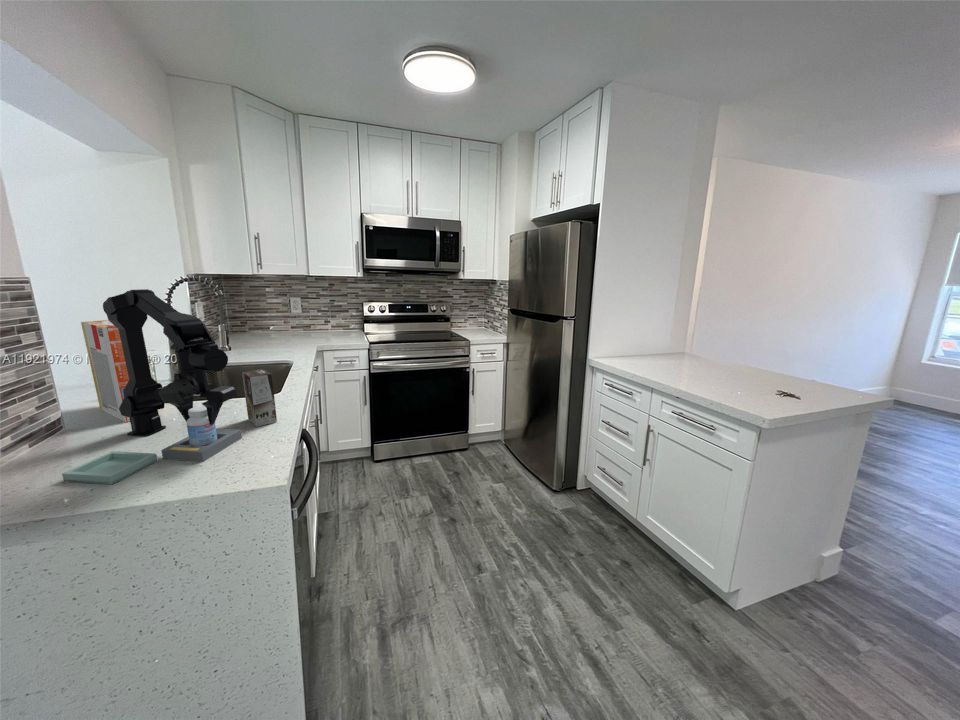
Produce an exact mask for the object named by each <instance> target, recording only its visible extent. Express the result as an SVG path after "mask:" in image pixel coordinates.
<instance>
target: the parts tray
mask: <svg viewBox="0 0 960 720" xmlns="http://www.w3.org/2000/svg"><path fill="white" fill-rule="evenodd" d="M156 462H158V456H157V453H151V452H149V453H148V452H133V451H114V450H112V451H109V452H106V453H105V454H103V455H100V456H98V457H96V458H94V459H92V460H89V461H86V462H84V463H83V464H81V465H80V464H79V465H77V466H75V467H74V468H71V469H69V470H67V471H65V472H62V473H61V475H62V478H63V482H65V481H68V483H81V484H98V485H99V484H100V485H115V484H116V483H117V484H118V482H121V481H122V480H124V479H126V478H128V477H130V476H132V475H134V474H135V473H138V472H139V471H142V470H143V469H145V468H148V466H151V465H152V464H155V463H156Z"/></svg>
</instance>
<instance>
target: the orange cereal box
mask: <svg viewBox="0 0 960 720" xmlns="http://www.w3.org/2000/svg"><path fill="white" fill-rule="evenodd" d="M80 325H81V330H82V333H83V338H84V343H85V347H86V350H87V356H88V360H89V364H90V369H91V370H90V371H91V374H92V378H93V382H94V383H93V384H94V388H95V392H96V396H97V401H98V404H99V405H98V406H99V409H100V410H101V411H103V412H105V413H108V414H109V415H111V416H113V417H115V418H116V419H118V420H121V421H122V422H125V423H126V424H128V423H130V418H129V417H126V416H122V415H121V413H120V410H119V407H120V405H121V403H122V401H123V399H124V389H125V387H126V385H127V383H128V381H129V376H128V371H127V367H126V362H125V357H124V353H123V348H122V343H121V338H120V334H119V330H118V328H117V327H115V326H114V325H113V324H112V323H111V322H110V321H109V320H108V319H104V320H93V321H92V320H90V321H80Z"/></svg>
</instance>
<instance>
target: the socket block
mask: <svg viewBox="0 0 960 720" xmlns="http://www.w3.org/2000/svg"><path fill="white" fill-rule="evenodd" d="M216 433H217V439H218V440H216V441H214V442H212V443H211V444H209V445H207V446H192V445H190V442H189V436H187V437H185V438H182V439H181V440H179V441H177V442H175V443H173V444H171V445H168V446H167V447H165V448H163V449H161V456H162V460H172V461H189V462H190V461H193V462H205V461H207V460H208V459H210V458H212V457H213V456H215V455H217V454H218V453H220V452H221V451H223V450H225V449H227V448H228V447H229V446H231V445H233V444H234V443H236V442H238V441H240V440H241V439H242V438H243V434H242V429H231V428H230V429H226V428H216Z"/></svg>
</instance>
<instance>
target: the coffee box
mask: <svg viewBox="0 0 960 720" xmlns="http://www.w3.org/2000/svg"><path fill="white" fill-rule="evenodd" d="M241 376H242V382H243V384H242V385H243V390H244V391H243V392H244V398H245V405H246V412H247V418H248V421H249V422H251V423H252V425H254V427H256V428H257V427H261V426H266V425H271V424H274V423H277V422H278V420H277V417H278V416H277V409H276V399H275V390H274V381H273V373H271V372H270V371H268V370H266V369H264V368H258V369H253V370H249V371H242V372H241Z"/></svg>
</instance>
